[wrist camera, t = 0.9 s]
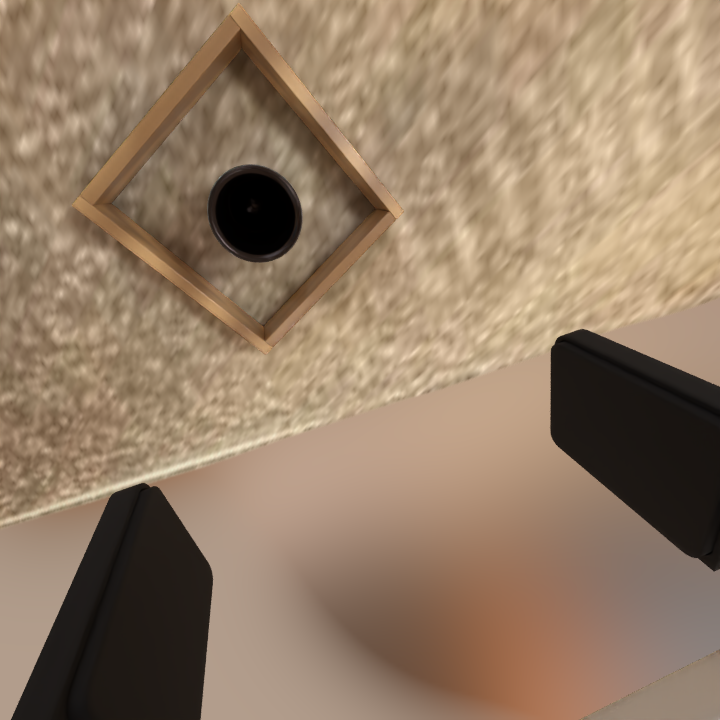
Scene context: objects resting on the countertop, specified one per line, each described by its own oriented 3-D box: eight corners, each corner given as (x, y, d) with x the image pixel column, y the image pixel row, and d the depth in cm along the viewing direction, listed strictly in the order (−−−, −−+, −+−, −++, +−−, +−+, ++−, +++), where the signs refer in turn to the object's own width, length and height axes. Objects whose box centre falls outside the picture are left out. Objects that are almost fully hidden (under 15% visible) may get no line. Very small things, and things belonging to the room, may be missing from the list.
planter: (246, 250, 29) (245, 279, 20) (206, 193, 27) (185, 197, 18) (297, 218, 29) (319, 232, 20) (261, 158, 27) (268, 144, 18)
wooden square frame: (92, 202, 25) (70, 205, 22) (240, 25, 24) (238, 1, 21) (264, 338, 32) (265, 355, 29) (388, 208, 30) (404, 211, 27)
